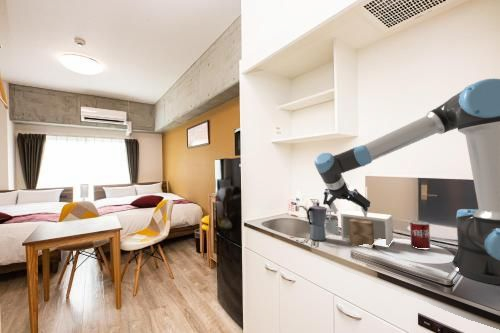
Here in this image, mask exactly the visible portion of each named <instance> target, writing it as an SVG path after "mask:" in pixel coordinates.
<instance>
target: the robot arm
mask: <svg viewBox="0 0 500 333" xmlns="http://www.w3.org/2000/svg"><path fill="white" fill-rule="evenodd" d="M455 129H457V132H459V133H461V134H463V135H465V139H466V146H467V151H468V157H469V163H470V168H471V172H472V173H471V174H472V178H473V184H474V191H475V195H476V196H475V197H476V202H477V207H478V208H475V209H471V208H469V209H468V208H460V209H457V211H456V217H455V219H456V235H457V237H456V238H457V250H456V252H455V254H454V256H453V259H452V260H451V261H452V264H453V265H454V266H455V267H458V268H459V272H460V274H459V275H461V276H464V277H466V278H469V279H471V280H474V281H479V282H482V283H487V284H493V285H500V78H486V79H482V80H478V81H476V82H474V83H471V84H469V85H468V86H466V87H465V88H463V90H461V91H459V92H458V93H457V94H455V95H454V96H452V97H450V98H449V99H448V100H447V101H445V102H444V103H442V104H440V105H439V106H437V107H436V108H434V109H432V110H429V111H428V112H427V113H426V114H425V116H423V117H421V118H419V119H416V120H414V121H412V122H410V123H408V124H406V125H404V126H401V127H399V128H397V129H395V130H393V131H391V132H389V133H386V134H385V135H382V136H380V137H378V138H376V139H374V140H372V141H369V142H368V143H365V144H362V145H358V146H355V147H353V148H350V149H348V150H345V151H343V152H341V153H338V154H334V155H333V154H332V153H330V152H323V153H320V154H319V155H317V156H316V157H315V160H314V166H315V167H316V168H315V169H316V170H317V172H318V174H319V175H320V177H321V179H322V181H323V183H324V185H325V186H326V187H327V188H325V189H324V192H323V195H324V197H323V202H322V204H323V205H325V206H327V207H330V209H332V210H333V212H332V213H334V214H333V215H336V214H337V212H338V211H337V210H338V208H337V207H336V204H335V203H334V202H335V201H336V200H337V199H338V200H346V201H348V202H352V203H353V204H355V205H357V206H359V207H360V209H361V212H363V214H364V216H365V217H367V212H368V210H369V209H368V208H370V207H371V201H370V200H369V199H368V198H366V197H365V196H364V195H362V194H361V193H360V192H359V191H358V190H357V188H354V189H353V190H349V188H348V185H347V183H346V181H345V179H344V176H343V174H344V173H346V172H350V171H353V170H356V169H358V168H361V167H365V166H367V165H370V164H371V163H373V161H375V160H377V159H379V158H382V157H383V156H386V155H389V154H391V153H394V152H395V151H398V150H401V149H403V148H405V147H408V146H411V145H412V144H414V143H417V142H420V141H421V140H424V139H427V138H429V137H430V136H434V135H436V134H439V135H442V134H445V133H447V132H449V131H453V130H455ZM329 196H330V197H329ZM328 197H329V199H328ZM452 264H451V265H452Z"/></svg>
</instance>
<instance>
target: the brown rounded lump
mask: <svg viewBox="0 0 500 333" xmlns="http://www.w3.org/2000/svg"><path fill="white" fill-rule="evenodd" d="M349 231H350V241H349V245H350V246H351V245H353V246H356V247H360V246H359V245H363V244H369V245H372V244H373V243H374V228H373V222H370V221H362V220H355V219H351V220H350V221H349Z"/></svg>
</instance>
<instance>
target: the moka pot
mask: <svg viewBox="0 0 500 333" xmlns="http://www.w3.org/2000/svg"><path fill="white" fill-rule="evenodd" d="M306 214H307V219H308V224H309V225H310V232H309V239H310V240H313V241H319V242H320V241H322V242H323V241H326V234H325V219H326V215H327V207H326V206H321V205H320V202H317V203H316V205H313V206H310V207H308V209H307V211H306Z"/></svg>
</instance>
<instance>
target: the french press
mask: <svg viewBox="0 0 500 333" xmlns="http://www.w3.org/2000/svg"><path fill="white" fill-rule="evenodd" d="M326 208H327V211H326V219H325V225H324V227H325V235H330V236H335V235H336V236H337V235H340V234H341V231H339V219H338V215H335V214H329V213H334V212H333V210H332V209H330V207H329V206H327V207H326ZM338 211H339V210H338V209H337V212H338Z"/></svg>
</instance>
